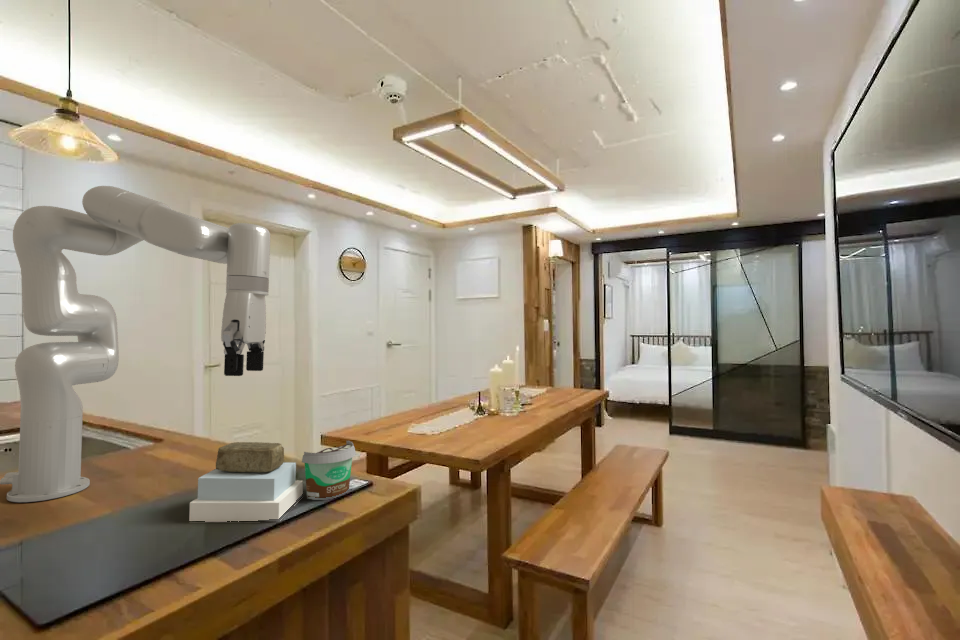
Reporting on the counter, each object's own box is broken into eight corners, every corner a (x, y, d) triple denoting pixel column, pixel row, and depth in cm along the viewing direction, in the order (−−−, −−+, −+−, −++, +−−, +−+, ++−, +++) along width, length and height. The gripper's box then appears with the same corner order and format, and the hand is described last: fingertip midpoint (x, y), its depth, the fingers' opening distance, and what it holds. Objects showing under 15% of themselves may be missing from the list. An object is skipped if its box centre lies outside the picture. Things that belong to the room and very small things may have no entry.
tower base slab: (189, 524, 80) (189, 502, 80) (224, 499, 92) (225, 480, 92) (278, 524, 81) (279, 502, 81) (302, 499, 93) (302, 480, 93)
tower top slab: (197, 499, 82) (198, 478, 82) (227, 481, 92) (228, 461, 92) (273, 500, 82) (274, 478, 82) (295, 481, 92) (295, 462, 92)
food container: (320, 508, 87) (321, 457, 88) (300, 501, 91) (301, 452, 91) (367, 489, 98) (367, 444, 98) (347, 484, 101) (348, 440, 101)
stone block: (272, 474, 84) (272, 448, 84) (212, 474, 84) (212, 447, 84) (286, 465, 90) (286, 440, 90) (229, 464, 90) (230, 440, 90)
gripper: (246, 290, 96) (243, 368, 96) (205, 281, 79) (202, 377, 79) (282, 291, 97) (279, 369, 97) (249, 283, 80) (246, 378, 80)
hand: (244, 373), depth 88 cm, fingers open, 9 cm apart
